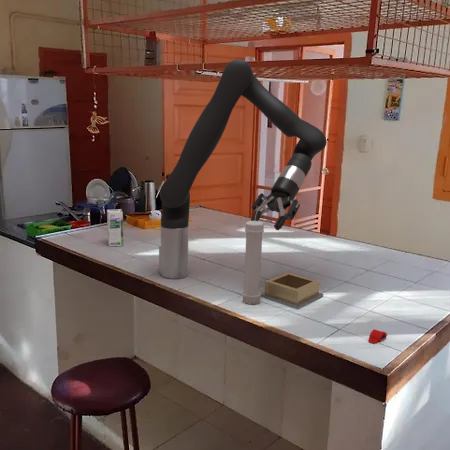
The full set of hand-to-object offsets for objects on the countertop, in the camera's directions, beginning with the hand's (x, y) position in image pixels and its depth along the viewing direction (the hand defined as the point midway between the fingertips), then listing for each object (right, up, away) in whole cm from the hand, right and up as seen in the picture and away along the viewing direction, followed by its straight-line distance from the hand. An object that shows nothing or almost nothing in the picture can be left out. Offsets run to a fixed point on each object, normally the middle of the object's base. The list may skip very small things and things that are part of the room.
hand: (264, 226), depth 148 cm
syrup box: (-57, -8, +58) cm, 81 cm away
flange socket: (+9, -22, +7) cm, 25 cm away
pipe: (-4, -23, +2) cm, 23 cm away
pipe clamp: (+28, -29, -19) cm, 45 cm away
